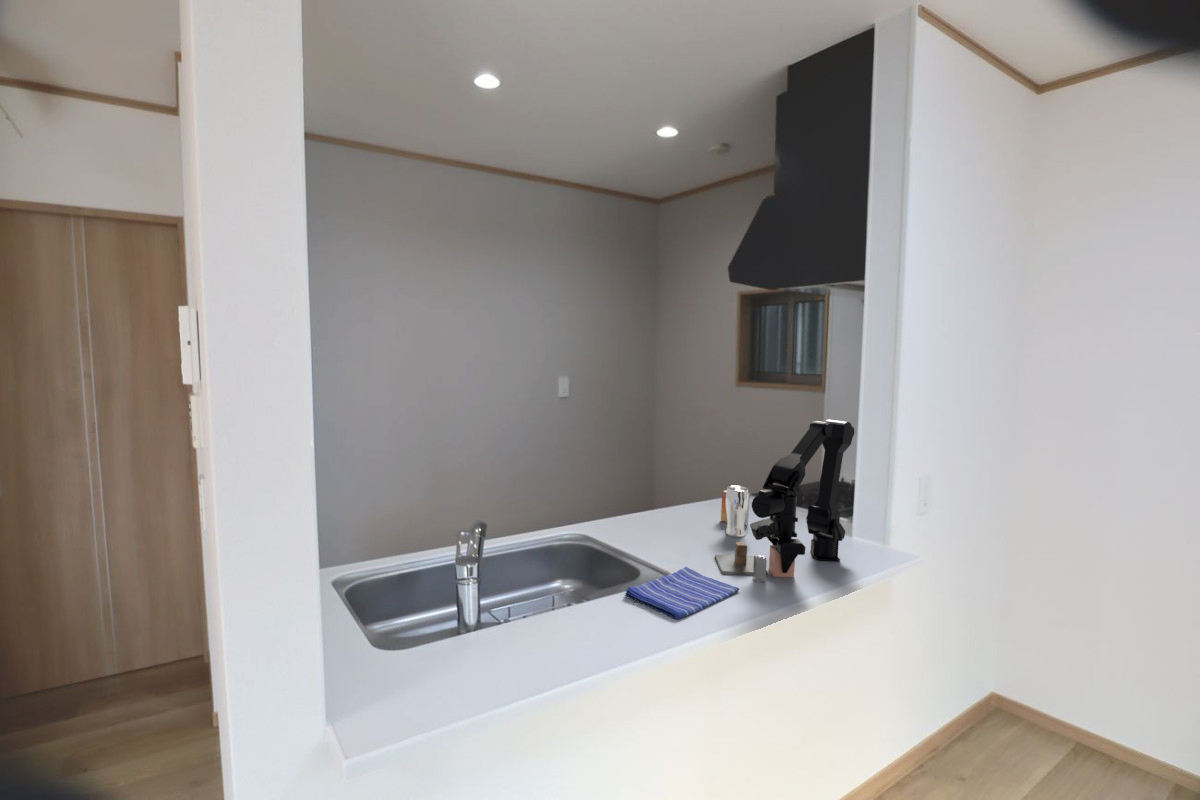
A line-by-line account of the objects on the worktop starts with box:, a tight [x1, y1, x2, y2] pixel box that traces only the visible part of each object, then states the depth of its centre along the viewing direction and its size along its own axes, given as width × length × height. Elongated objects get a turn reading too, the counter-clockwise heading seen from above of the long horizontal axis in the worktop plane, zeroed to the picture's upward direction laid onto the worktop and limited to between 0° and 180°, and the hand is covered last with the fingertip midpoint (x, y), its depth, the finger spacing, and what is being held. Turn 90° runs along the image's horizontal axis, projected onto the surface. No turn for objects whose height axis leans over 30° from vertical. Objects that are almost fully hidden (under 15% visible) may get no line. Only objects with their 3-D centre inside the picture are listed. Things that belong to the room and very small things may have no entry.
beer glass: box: [725, 485, 749, 538], centre depth 186 cm, size 7×7×15 cm
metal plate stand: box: [714, 541, 769, 576], centre depth 160 cm, size 12×12×6 cm
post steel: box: [752, 554, 768, 583], centre depth 151 cm, size 3×3×6 cm
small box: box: [720, 489, 751, 527], centre depth 198 cm, size 8×6×10 cm
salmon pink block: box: [768, 544, 796, 578], centre depth 156 cm, size 5×5×7 cm
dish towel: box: [624, 566, 740, 620], centre depth 142 cm, size 17×24×3 cm
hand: (781, 568), depth 156 cm, fingers closed on salmon pink block, 5 cm apart
